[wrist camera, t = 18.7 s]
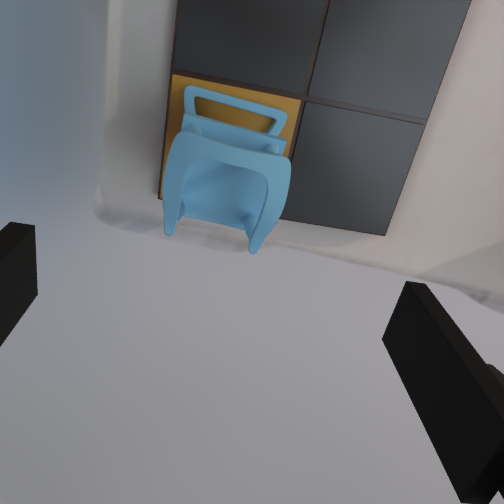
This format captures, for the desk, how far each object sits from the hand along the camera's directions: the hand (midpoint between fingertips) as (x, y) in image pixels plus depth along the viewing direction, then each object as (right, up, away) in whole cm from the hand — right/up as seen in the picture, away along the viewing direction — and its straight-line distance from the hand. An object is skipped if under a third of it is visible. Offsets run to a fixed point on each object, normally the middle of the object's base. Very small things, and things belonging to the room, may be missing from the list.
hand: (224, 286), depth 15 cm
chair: (-1, +9, +18) cm, 21 cm away
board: (+5, +13, +18) cm, 23 cm away
